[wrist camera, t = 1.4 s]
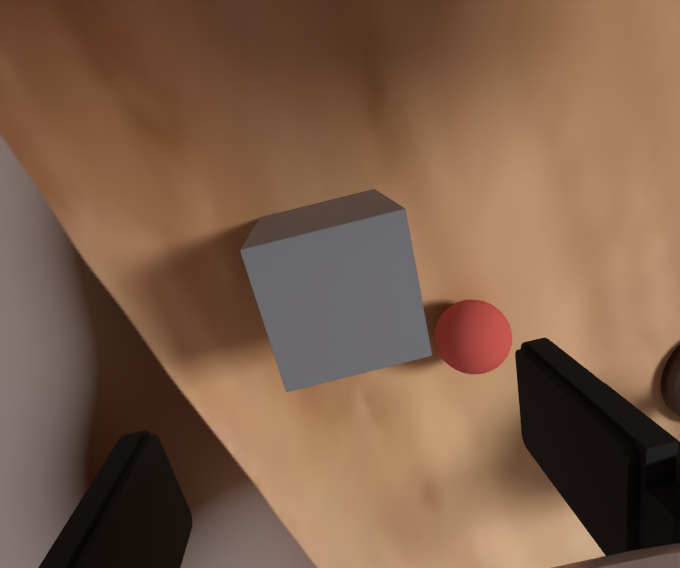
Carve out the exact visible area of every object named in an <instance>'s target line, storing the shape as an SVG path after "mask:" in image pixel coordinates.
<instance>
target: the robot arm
mask: <svg viewBox="0 0 680 568" xmlns="http://www.w3.org/2000/svg"><path fill="white" fill-rule="evenodd" d="M515 356H516V368H517V381H518V393H519V405H520V417H521V429H522V437H523V441H524V444H525V446H526V448H527V449H528V451H529V452H530V454H531V455H532V456H533V458H534V459H535V460H536V462H537V463H538V465H539V466H540V467H541V469H542V470H543V471H544V473H545V474H546V475H547V477H548V478H549V479H550V481H551V482H552V483H553V485H554V486H555V487H556V489H557V490H558V492H559V493H560V494H561V496H562V497H563V498H564V500H565V501H566V502H567V504H568V505H569V506H570V508H571V509H572V510H573V512H574V513H575V515H576V516H577V517H578V519H579V520H580V521H581V523H582V524H583V525H584V527H585V528H586V529H587V531H588V532H589V533H590V535H591V536H592V538H593V539H594V540H595V542H596V543H597V544H598V546H599V547H600V548H601V550H602V551H603V552H604V554H605V555H606V556H605V557H600V558H595V559H590V560H586V561H581V562H576V563H571V564H567V565H562V566H557V567H553V568H680V442H679V441H678V440H677V439H675V438H674V437H673V436H672V435H670V434H669V433H668V432H667V431H665V430H664V429H663V428H661V427H660V426H659V425H658V424H656V423H655V422H654V421H653V420H651V419H650V418H649V417H647V416H646V415H645V414H644V413H642V412H641V411H640V410H639V409H637V408H636V407H635V406H633V405H632V404H631V403H630V402H628V401H627V400H626V399H625V398H623V397H622V396H621V395H619V394H618V393H617V392H616V391H614V390H613V389H612V388H611V387H609V386H608V385H607V384H605V383H603V382H602V381H601V380H600V379H598V378H597V377H596V376H594V375H593V374H592V373H591V372H589V371H588V370H587V369H586V368H584V367H583V366H582V365H580V364H579V363H578V362H577V361H575V360H574V359H573V358H572V357H570V356H569V355H568V354H566V353H565V352H564V351H563V350H561V349H560V348H559V347H558V346H556V345H555V344H554V343H553V342H551V341H550V340H549V339H547V338H541V339H537V340H532V341H528V342H524V343H522V345H521V349H519V350H517V351H516V354H515ZM191 528H192V515H191V512H190V510H189V507H188V505H187V502H186V500H185V498H184V495H183V493H182V491H181V488H180V486H179V484H178V481H177V479H176V477H175V474H174V472H173V470H172V467H171V465H170V463H169V460H168V458H167V456H166V453H165V451H164V449H163V446H162V444H161V442H160V439H159V437H158V436H157V435H156V434H152V435H151V433H150V432H149V431H147V430H143V431H139V432H135V433H131V434H126V435H123V436H121V438H120V439H119V440H118V442H117V443H116V445H115V447H114V448H113V450H112V452H111V453H110V455H109V456H108V458H107V459H106V461H105V463H104V464H103V466H102V467H101V469H100V471H99V472H98V474H97V475H96V477H95V479H94V480H93V482H92V483H91V485H90V487H89V488H88V490H87V491H86V493H85V494H84V496H83V498H82V499H81V501H80V503H79V504H78V506H77V507H76V509H75V511H74V512H73V514H72V515H71V517H70V518H69V520H68V522H67V524H66V525H65V526H64V528H63V530H62V531H61V533H60V534H59V536H58V538H57V539H56V541H55V542H54V544H53V545H52V547H51V549H50V550H49V552H48V553H47V555H46V557H45V559H44V560H43V561H42V563H41V565H40V566H39V568H180V566H181V563H182V560H183V556H184V553H185V549H186V546H187V543H188V539H189V536H190V532H191Z"/></svg>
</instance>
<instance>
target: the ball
mask: <svg viewBox="0 0 680 568" xmlns="http://www.w3.org/2000/svg"><path fill="white" fill-rule="evenodd" d="M434 337H435V344H436V348H437V350H438V352H439V354H440V356H441V357H442V358H443V360H444V361H445V362H446V363H447V364H448V365H449V366H451V367H452V368H454V369H456V370H458V371H460V372H463V373H467V374H482V373H486V372H489V371H492V370H493V369H495V368H497V367H498V366H499V365H500V364H502V363H503V361H504V360H505V359H506V357H507V356H508V354H509V351H510V349H511V345H512V332H511V328H510V325H509V323H508V321H507V319H506V317H505V316H504V315H503V314H502V313H501V312H500V311H499V310H498V309H497V308H496V307H494V306H493V305H491V304H489V303H486V302H483V301H480V300H464V301H460V302H457V303H455V304H453V305H451V306H450V307H448V308H447V309H446V310H445V311H444V312H443V313H442V314H441V316H440V318H439V319H438V321H437V324H436V327H435V336H434Z"/></svg>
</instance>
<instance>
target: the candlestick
mask: <svg viewBox="0 0 680 568" xmlns="http://www.w3.org/2000/svg"><path fill="white" fill-rule="evenodd" d="M661 391H662V395H663V399H664V401H665V402H666V404H667V406H668V407H669V408H670V409H671V410H672V411H673V412H675V413H676V414H677V415H679V416H680V345H679V346H678V348H677V349H676V350H675V351H674V352H673V354H672V355H671V357H670V358H669V360H668V362H667V364H666V366H665V369H664V371H663V375H662V380H661Z"/></svg>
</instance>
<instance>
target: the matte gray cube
mask: <svg viewBox="0 0 680 568" xmlns="http://www.w3.org/2000/svg"><path fill="white" fill-rule="evenodd" d="M240 252H241V255H242V258H243V261H244V264H245V267H246V270H247V273H248V277H249V280H250V283H251V286H252V289H253V292H254V295H255V298H256V301H257V304H258V307H259V310H260V313H261V316H262V320H263V323H264V326H265V329H266V332H267V335H268V338H269V341H270V344H271V347H272V350H273V353H274V356H275V360H276V363H277V366H278V369H279V372H280V375H281V378H282V381H283V384H284V387H285V390H286V392H289V391H293V390H297V389H301V388H305V387H309V386H313V385H317V384H321V383H325V382H329V381H333V380H337V379H341V378H345V377H349V376H353V375H357V374H361V373H365V372H369V371H373V370H377V369H381V368H385V367H389V366H393V365H397V364H401V363H405V362H409V361H413V360H417V359H421V358H425V357H429V356H432V352H431V346H430V341H429V335H428V330H427V324H426V319H425V313H424V308H423V303H422V297H421V292H420V286H419V281H418V275H417V270H416V264H415V259H414V253H413V248H412V242H411V237H410V232H409V226H408V221H407V215H406V210H405V208H403V207H402V206H400V205H399V204H397V203H396V202H394V201H392V200H391V199H389V198H388V197H386V196H385V195H383V194H382V193H380V192H378V191H377V190H375V189H373V190H369V191H365V192H361V193H357V194H353V195H349V196H345V197H341V198H337V199H333V200H329V201H325V202H321V203H317V204H313V205H309V206H305V207H301V208H297V209H293V210H289V211H285V212H281V213H277V214H273V215H269V216H265V217H261V218H259V220H258V221H257V223H256V225H255V226H254V228H253V230H252V231H251V233H250V235H249V236H248V238H247V239H246V241H245V243H244V244H243V246H242V248H241V249H240Z"/></svg>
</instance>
